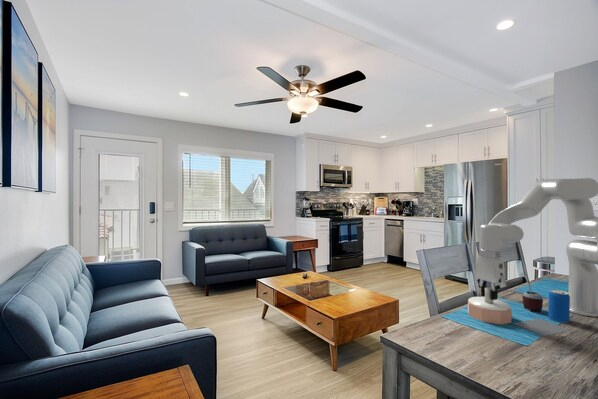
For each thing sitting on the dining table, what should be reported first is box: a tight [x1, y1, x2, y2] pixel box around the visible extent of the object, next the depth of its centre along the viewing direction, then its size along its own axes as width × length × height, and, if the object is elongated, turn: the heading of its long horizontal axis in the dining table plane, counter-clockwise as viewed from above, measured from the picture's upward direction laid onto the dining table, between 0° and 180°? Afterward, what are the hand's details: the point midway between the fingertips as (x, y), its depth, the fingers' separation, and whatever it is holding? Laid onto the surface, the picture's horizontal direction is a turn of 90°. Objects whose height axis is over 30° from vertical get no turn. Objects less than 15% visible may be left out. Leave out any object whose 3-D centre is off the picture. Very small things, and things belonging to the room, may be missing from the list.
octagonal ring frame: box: [467, 298, 513, 325], centre depth 124 cm, size 15×15×6 cm
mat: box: [513, 317, 571, 337], centre depth 115 cm, size 15×11×1 cm
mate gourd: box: [521, 274, 544, 313], centre depth 132 cm, size 8×8×15 cm
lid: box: [468, 286, 511, 311], centre depth 124 cm, size 14×14×7 cm
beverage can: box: [547, 289, 570, 324], centre depth 121 cm, size 6×6×12 cm
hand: (488, 297), depth 124 cm, fingers open, 3 cm apart
